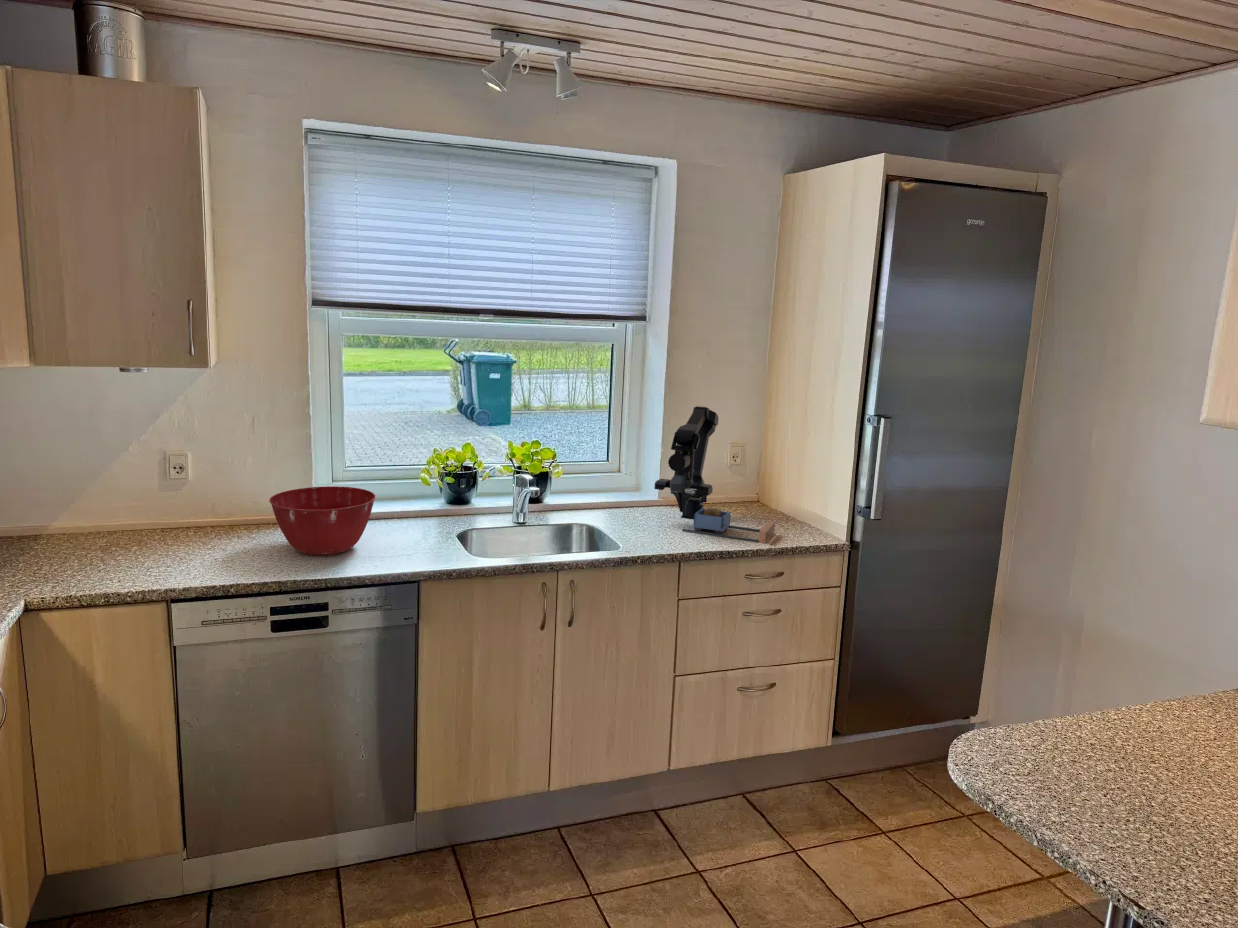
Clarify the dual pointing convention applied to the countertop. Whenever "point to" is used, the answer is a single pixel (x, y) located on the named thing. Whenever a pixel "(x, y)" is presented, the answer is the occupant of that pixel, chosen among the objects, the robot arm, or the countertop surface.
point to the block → (712, 512)
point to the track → (764, 532)
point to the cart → (711, 521)
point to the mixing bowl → (323, 517)
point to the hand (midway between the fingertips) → (681, 512)
